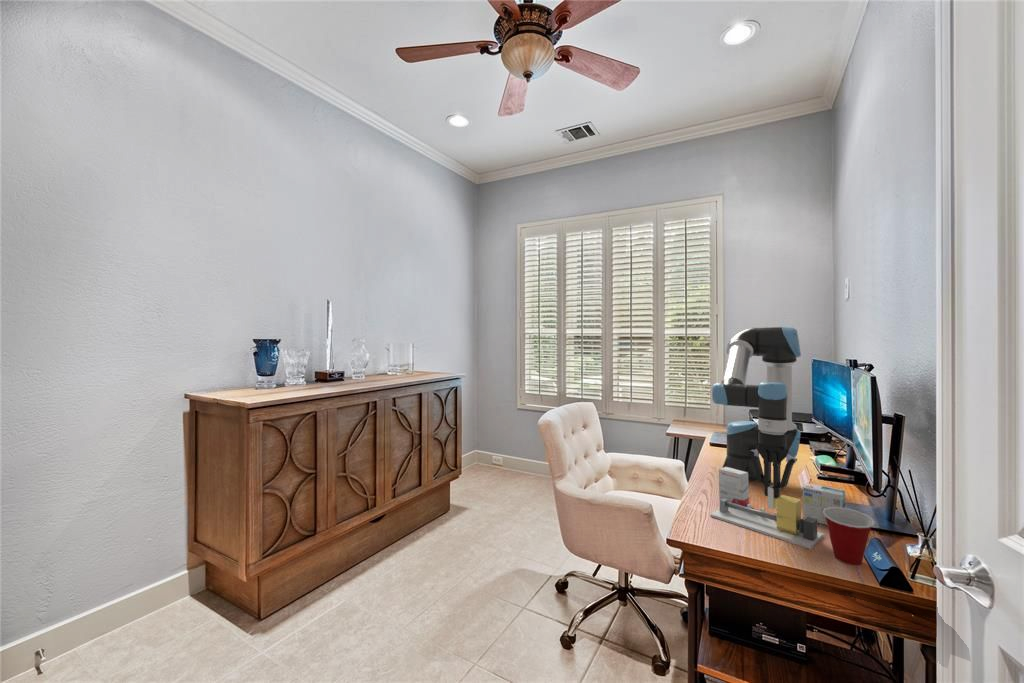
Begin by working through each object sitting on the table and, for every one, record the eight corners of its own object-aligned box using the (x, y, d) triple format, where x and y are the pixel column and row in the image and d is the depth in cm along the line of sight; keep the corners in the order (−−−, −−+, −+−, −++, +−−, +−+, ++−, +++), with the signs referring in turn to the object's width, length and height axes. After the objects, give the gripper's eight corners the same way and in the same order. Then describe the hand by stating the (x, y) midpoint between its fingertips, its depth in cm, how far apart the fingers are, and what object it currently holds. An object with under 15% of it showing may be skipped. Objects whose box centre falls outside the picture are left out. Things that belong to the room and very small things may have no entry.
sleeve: (776, 528, 126) (776, 498, 126) (782, 524, 129) (782, 494, 129) (795, 534, 122) (795, 503, 122) (801, 529, 125) (801, 499, 125)
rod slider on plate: (710, 516, 137) (710, 498, 137) (726, 507, 145) (726, 490, 145) (810, 549, 116) (810, 527, 116) (823, 536, 123) (823, 516, 123)
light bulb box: (846, 523, 133) (846, 489, 133) (843, 529, 128) (843, 495, 128) (805, 513, 140) (805, 481, 140) (801, 519, 135) (801, 486, 135)
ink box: (749, 505, 147) (749, 472, 147) (742, 508, 144) (742, 474, 144) (725, 497, 154) (725, 466, 154) (718, 500, 151) (718, 468, 151)
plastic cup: (823, 562, 109) (823, 516, 109) (821, 545, 118) (821, 503, 118) (877, 575, 103) (878, 527, 103) (871, 557, 112) (871, 512, 112)
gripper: (744, 430, 131) (744, 504, 131) (792, 437, 121) (792, 517, 121) (754, 427, 136) (754, 498, 136) (800, 434, 126) (800, 511, 126)
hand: (772, 507), depth 129 cm, fingers closed
